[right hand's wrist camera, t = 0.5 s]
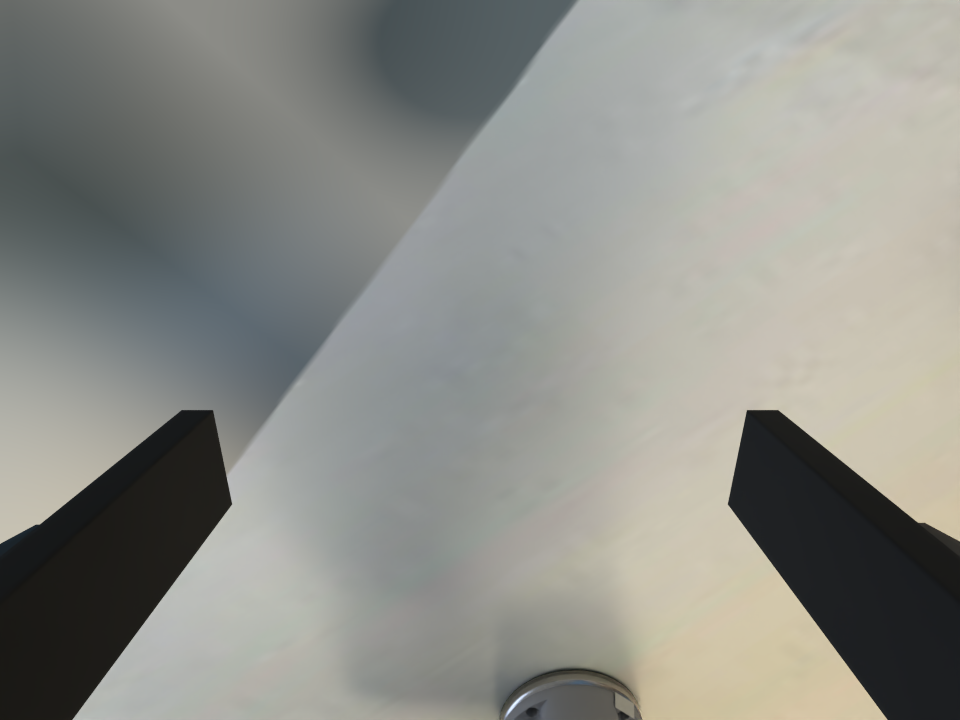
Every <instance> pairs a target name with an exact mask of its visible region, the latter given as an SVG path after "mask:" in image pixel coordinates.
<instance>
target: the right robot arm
mask: <svg viewBox="0 0 960 720" xmlns="http://www.w3.org/2000/svg"><path fill="white" fill-rule="evenodd" d="M231 505H232V502H231V497H230V492H229V487H228V482H227V477H226V472H225V467H224V462H223V457H222V452H221V447H220V443H219V438H218V433H217V428H216V423H215V418H214V413H213V410H181V411H180V412H179V413H178V414H177V415H175V416H174V417H173V418H172V419H170V420H169V421H168V422H167V423H165V424H164V425H163V426H162V427H160V428H159V429H158V430H157V431H155V432H154V433H153V434H152V435H151V436H149V437H148V438H147V439H146V440H144V441H143V442H142V443H141V444H139V445H138V446H137V447H136V448H134V449H133V450H132V451H131V452H129V453H128V454H127V455H126V456H124V457H123V458H122V459H121V460H120V461H118V462H117V463H116V464H115V465H113V466H112V467H111V468H110V469H108V470H107V471H106V472H105V473H103V474H102V475H101V476H100V477H98V478H97V479H96V480H95V481H93V482H92V483H91V484H90V485H88V486H87V487H86V488H85V489H84V490H82V491H81V492H80V493H79V494H77V495H76V496H75V497H74V498H72V499H71V500H70V501H69V502H67V503H66V504H65V505H64V506H62V507H61V508H60V509H59V510H58V511H56V512H55V513H54V514H52V515H51V516H50V517H49V518H48V519H46V520H45V521H44V522H43V523H41V524H40V525H35V526H33V527H31V528H29V529H27V530H25V531H23V532H22V533H20V534H18V535H16V536H14V537H12V538H10V539H8V540H7V541H5V542H3V543H1V544H0V720H72V719H73V718H74V717H75V715H76V714H77V713H78V711H79V710H80V709H81V707H82V706H83V705H84V703H85V702H86V701H87V699H88V698H89V697H90V695H91V694H92V692H93V691H94V690H95V688H96V687H97V686H98V684H99V683H100V682H101V680H102V679H103V678H104V676H105V675H106V674H107V672H108V671H109V670H110V668H111V667H112V666H113V664H114V663H115V661H116V660H117V659H118V657H119V656H120V655H121V653H122V652H123V651H124V649H125V648H126V647H127V645H128V644H129V643H130V641H131V640H132V639H133V637H134V636H135V634H136V633H137V632H138V630H139V629H140V628H141V626H142V625H143V624H144V622H145V621H146V620H147V618H148V617H149V616H150V614H151V613H152V612H153V610H154V609H155V608H156V606H157V605H158V603H159V602H160V601H161V599H162V598H163V597H164V595H165V594H166V593H167V591H168V590H169V589H170V587H171V586H172V585H173V583H174V582H175V581H176V579H177V578H178V576H179V575H180V574H181V572H182V571H183V570H184V568H185V567H186V566H187V564H188V563H189V562H190V560H191V559H192V558H193V556H194V555H195V554H196V552H197V551H198V550H199V548H200V547H201V545H202V544H203V543H204V541H205V540H206V539H207V537H208V536H209V535H210V533H211V532H212V531H213V529H214V528H215V527H216V525H217V524H218V523H219V521H220V520H221V518H222V517H223V516H224V514H225V513H226V512H227V510H228V509H229V508H230V506H231ZM728 505H729V506H730V508H731V509H732V510H733V512H734V513H735V514H736V516H737V517H738V518H739V520H740V521H741V523H742V524H743V525H744V527H745V528H746V529H747V531H748V532H749V533H750V535H751V536H752V537H753V539H754V540H755V541H756V543H757V544H758V545H759V547H760V548H761V550H762V551H763V552H764V554H765V555H766V556H767V558H768V559H769V560H770V562H771V563H772V564H773V566H774V567H775V568H776V570H777V571H778V572H779V574H780V575H781V576H782V578H783V579H784V581H785V582H786V583H787V585H788V586H789V587H790V589H791V590H792V591H793V593H794V594H795V595H796V597H797V598H798V599H799V601H800V602H801V603H802V605H803V606H804V608H805V609H806V610H807V612H808V613H809V614H810V616H811V617H812V618H813V620H814V621H815V622H816V624H817V625H818V626H819V628H820V629H821V630H822V632H823V633H824V634H825V636H826V637H827V639H828V640H829V641H830V643H831V644H832V645H833V647H834V648H835V649H836V651H837V652H838V653H839V655H840V656H841V657H842V659H843V660H844V661H845V663H846V664H847V666H848V667H849V668H850V670H851V671H852V672H853V674H854V675H855V676H856V678H857V679H858V680H859V682H860V683H861V684H862V686H863V687H864V688H865V690H866V691H867V692H868V694H869V695H870V697H871V698H872V699H873V701H874V702H875V703H876V705H877V706H878V707H879V709H880V710H881V711H882V713H883V714H884V715H885V717H886V718H887V719H888V720H960V542H959V541H958V540H956V539H954V538H952V537H950V536H948V535H946V534H944V533H943V532H941V531H939V530H937V529H935V528H933V527H931V526H929V525H928V524H926V523H917V522H916V521H915V520H914V519H912V518H911V517H910V516H909V515H908V514H906V513H905V512H904V511H903V510H901V509H900V508H899V507H898V506H896V505H895V504H894V503H893V502H891V501H890V500H889V499H888V498H886V497H885V496H884V495H883V494H881V493H880V492H879V491H878V490H876V489H875V488H874V487H873V486H872V485H870V484H869V483H868V482H867V481H865V480H864V479H863V478H862V477H860V476H859V475H858V474H857V473H855V472H854V471H853V470H852V469H850V468H849V467H848V466H847V465H845V464H844V463H843V462H842V461H841V460H839V459H838V458H837V457H836V456H834V455H833V454H832V453H831V452H829V451H828V450H827V449H826V448H824V447H823V446H822V445H821V444H819V443H818V442H817V441H816V440H814V439H813V438H812V437H811V436H810V435H808V434H807V433H806V432H805V431H803V430H802V429H801V428H800V427H798V426H797V425H796V424H795V423H793V422H792V421H791V420H790V419H788V418H787V417H786V416H785V415H783V414H782V413H781V412H780V411H778V410H747V413H746V418H745V423H744V428H743V433H742V438H741V442H740V447H739V452H738V457H737V462H736V467H735V472H734V477H733V482H732V487H731V492H730V497H729V502H728ZM500 720H642V718H641V714H640V711H639V707H638V704H637V702H636V700H635V698H634V696H633V695H632V694H631V692H630V691H629V690H628V689H627V688H626V687H625V686H623V685H622V684H621V683H619V682H618V681H616V680H614V679H612V678H610V677H608V676H605V675H602V674H599V673H594V672H589V671H579V670H568V671H559V672H553V673H549V674H545V675H542V676H539V677H537V678H534V679H532V680H530V681H528V682H527V683H525V684H523V685H522V686H521V687H519V688H518V689H517V690H516V691H514V692H513V693H512V695H511V696H510V697H509V698H508V699H507V701H506V703H505V704H504V706H503V709H502V712H501V716H500Z"/></svg>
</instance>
